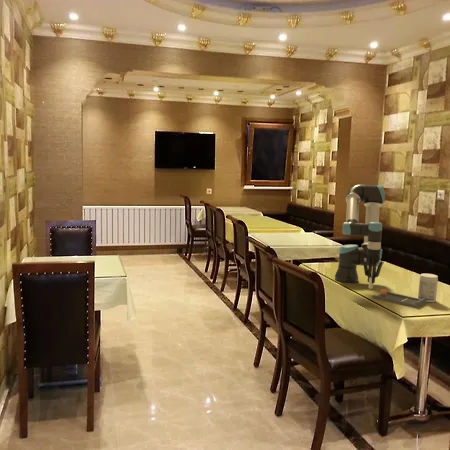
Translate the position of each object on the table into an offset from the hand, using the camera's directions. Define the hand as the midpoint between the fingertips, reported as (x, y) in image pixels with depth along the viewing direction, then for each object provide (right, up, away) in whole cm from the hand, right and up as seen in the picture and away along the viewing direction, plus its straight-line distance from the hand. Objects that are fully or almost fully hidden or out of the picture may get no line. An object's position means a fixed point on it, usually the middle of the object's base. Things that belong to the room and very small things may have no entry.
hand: (370, 288), depth 281 cm
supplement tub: (+29, -6, -9) cm, 31 cm away
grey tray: (+12, -5, -11) cm, 17 cm away
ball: (+6, -2, -5) cm, 8 cm away
